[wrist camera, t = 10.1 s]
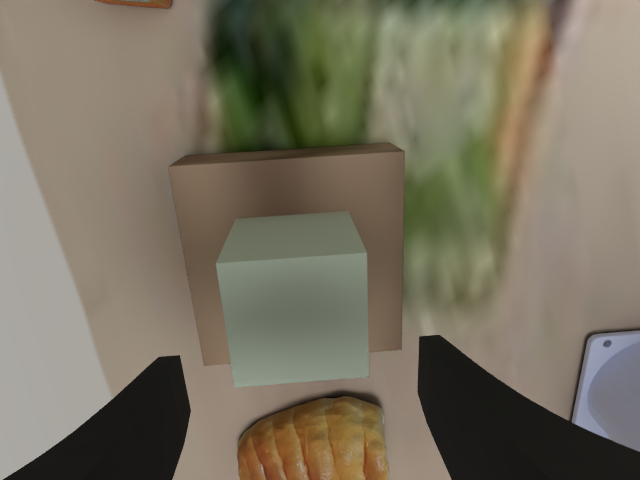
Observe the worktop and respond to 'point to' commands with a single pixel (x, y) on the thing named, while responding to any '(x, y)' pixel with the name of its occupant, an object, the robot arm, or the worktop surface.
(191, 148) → the worktop surface
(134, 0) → the supplement box
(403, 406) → the worktop surface
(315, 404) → the pastry
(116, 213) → the worktop surface
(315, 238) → the sage green block
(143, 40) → the worktop surface
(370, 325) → the walnut base block
